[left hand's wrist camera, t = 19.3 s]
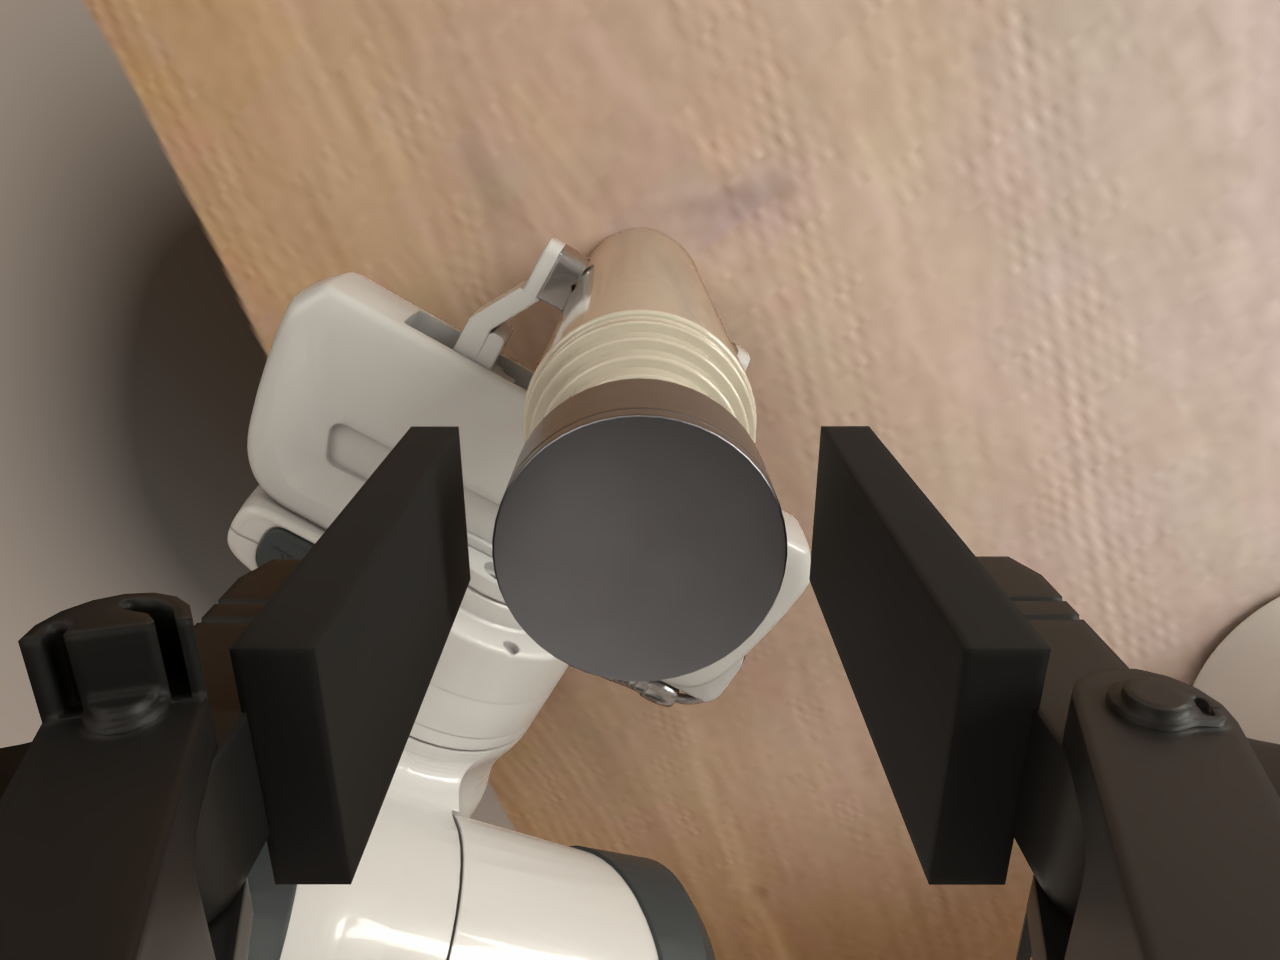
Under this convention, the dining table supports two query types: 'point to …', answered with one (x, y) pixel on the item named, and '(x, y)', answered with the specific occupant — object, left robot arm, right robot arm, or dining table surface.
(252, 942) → the right robot arm
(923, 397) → the dining table surface
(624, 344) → the bottle
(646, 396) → the cap
